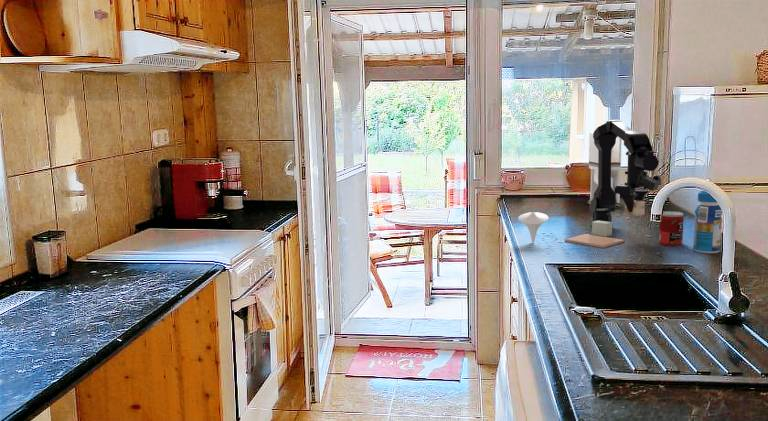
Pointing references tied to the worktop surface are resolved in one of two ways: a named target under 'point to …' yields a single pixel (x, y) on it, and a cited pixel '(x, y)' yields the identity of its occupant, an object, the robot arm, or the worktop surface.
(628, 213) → the beech block
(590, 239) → the terracotta tile
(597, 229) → the sage block
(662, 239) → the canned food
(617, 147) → the tall white pillar
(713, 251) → the beverage bottle
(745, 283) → the worktop surface
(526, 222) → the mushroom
